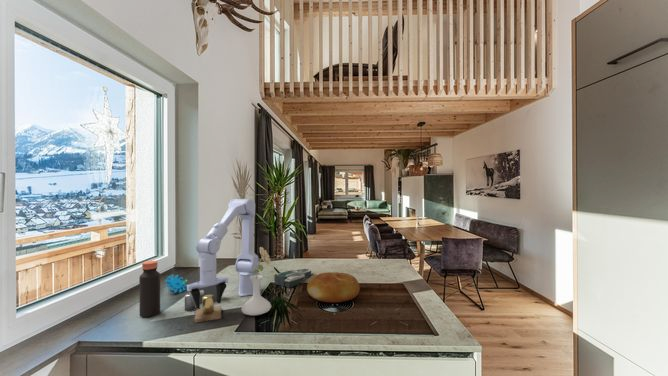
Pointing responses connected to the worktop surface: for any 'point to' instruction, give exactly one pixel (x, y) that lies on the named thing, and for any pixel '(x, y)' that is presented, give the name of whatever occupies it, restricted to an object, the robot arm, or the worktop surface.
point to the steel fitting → (189, 302)
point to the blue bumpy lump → (176, 283)
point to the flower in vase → (257, 291)
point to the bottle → (149, 290)
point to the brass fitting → (208, 304)
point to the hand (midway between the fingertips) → (208, 305)
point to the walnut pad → (201, 317)
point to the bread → (333, 287)
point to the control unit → (208, 292)
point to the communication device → (291, 277)
